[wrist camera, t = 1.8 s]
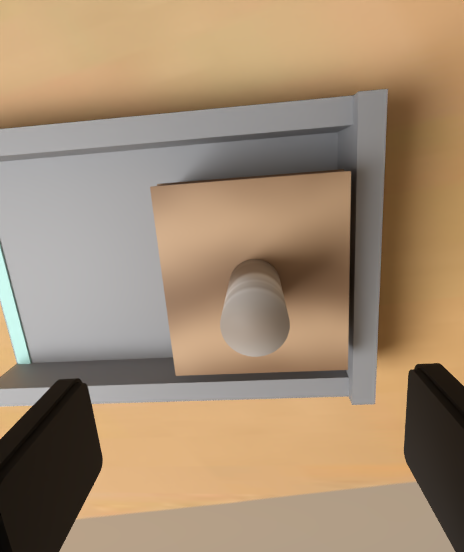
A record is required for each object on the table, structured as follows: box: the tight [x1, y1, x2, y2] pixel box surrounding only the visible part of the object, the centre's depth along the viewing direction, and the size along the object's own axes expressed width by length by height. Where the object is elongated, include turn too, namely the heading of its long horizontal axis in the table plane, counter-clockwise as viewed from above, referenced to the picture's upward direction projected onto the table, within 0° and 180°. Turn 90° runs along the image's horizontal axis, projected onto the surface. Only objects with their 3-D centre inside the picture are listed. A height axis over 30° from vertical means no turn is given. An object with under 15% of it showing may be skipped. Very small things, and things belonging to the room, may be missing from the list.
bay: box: [0, 89, 388, 406], centre depth 26 cm, size 20×30×6 cm
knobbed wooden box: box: [150, 169, 351, 376], centre depth 21 cm, size 12×11×13 cm
